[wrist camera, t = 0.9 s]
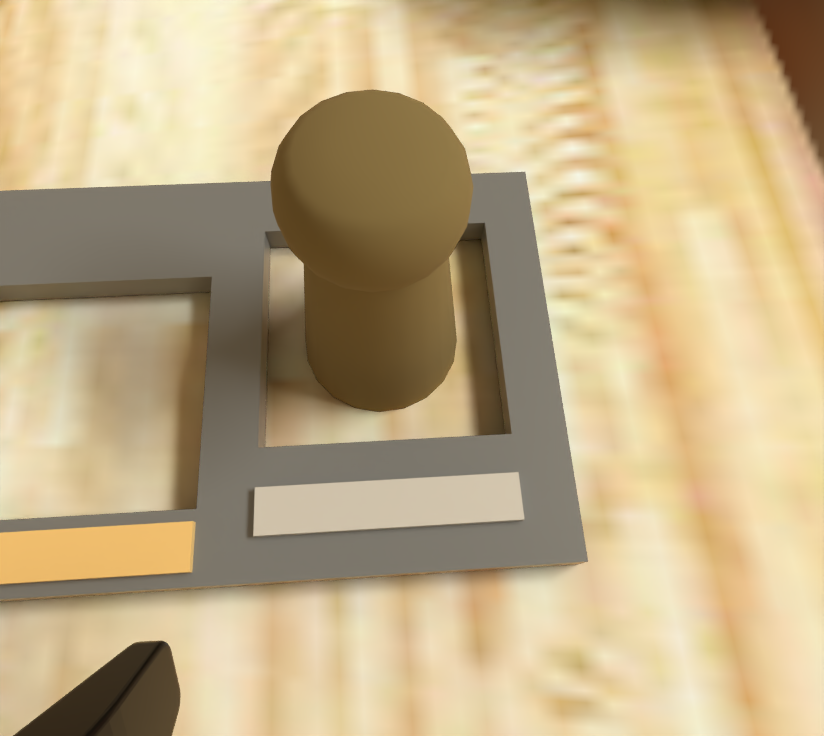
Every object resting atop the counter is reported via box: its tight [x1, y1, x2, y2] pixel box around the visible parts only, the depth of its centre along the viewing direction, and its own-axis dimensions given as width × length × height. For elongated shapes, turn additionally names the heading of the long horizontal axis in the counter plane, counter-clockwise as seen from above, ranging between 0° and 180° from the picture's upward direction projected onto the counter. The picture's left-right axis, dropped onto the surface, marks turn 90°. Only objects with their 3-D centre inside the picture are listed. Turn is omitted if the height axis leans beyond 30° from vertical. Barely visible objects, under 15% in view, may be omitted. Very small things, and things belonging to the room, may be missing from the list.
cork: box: [270, 90, 473, 412], centre depth 19 cm, size 6×6×11 cm
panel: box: [0, 172, 588, 602], centre depth 23 cm, size 16×24×2 cm, turn 94°
